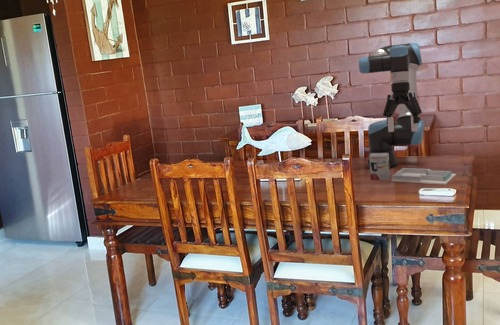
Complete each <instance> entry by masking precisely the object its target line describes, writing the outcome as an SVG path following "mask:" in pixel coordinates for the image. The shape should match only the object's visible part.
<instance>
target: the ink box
mask: <svg viewBox="0 0 500 325" xmlns="http://www.w3.org/2000/svg"><path fill="white" fill-rule="evenodd" d="M369 154H370V153H369ZM369 154H368V158H369V161H370V169H369V175H370V181H384V180H385V181H387V180H388V181H389V180H390V178H391V173H390V172H391V169H390V168H389V153H371V154H370V155H369Z"/></svg>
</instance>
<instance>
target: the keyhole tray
mask: <svg viewBox="0 0 500 325" xmlns="http://www.w3.org/2000/svg"><path fill="white" fill-rule="evenodd" d="M456 176H457V173H452V170H451V171H450V170H432V169H431V168H415V167H414V168H412V167H402V168H401V169H400V170H398V171H396V172H395V173H393V174H392V175H391V180H390V182H392V183H394V182H395V183H406V184H407V183H411V184H428V185H429V184H430V185H445V186H446V185H447V184H448V183H449V182H451V180H453V178H455V177H456Z"/></svg>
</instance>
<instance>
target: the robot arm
mask: <svg viewBox="0 0 500 325" xmlns="http://www.w3.org/2000/svg"><path fill="white" fill-rule="evenodd" d="M422 61H423V60H422V54H421V49H420V45H419V43H417V42H409V43H400V44H393V45H386V46H383V47H380V48H378V49H376V50H374V51H373V52H372V53H371V54H370V56H363V57H359V59H358V69H359V73H361V74H362V75H363V74H368V75H369V74H373V73H382V72H383V73H384V72H390V82H391V85H390V86H391V93H392V94H387V98H386V103H385V106H384V110H383V113H382V115H383V117H386V119H384V120H383V119H382V120H379V121H375V122H372V123H370V124H369V125H368V133H367V134H368V146H369V154H368V156H369V155H370V154H371V153H389V168H390V170H391V169H396V168H397V167H398V166H399V163H398V162H399V161H398V159H397V156H396V154H395V152H394V147H396V146H415V145H416V146H417V145H420V144H422V143H423V142H422V141H423V140H424V139H423V138H424V128H425V123H424V122H425V121H424V120H422V119H421V117H420V115H421V114H423V112H422V110H421V107H420V104H419V102H418V92H417V91H418V89H417V87H418V86H417V72H418V71H419V69H420V66H422V65H423V62H422ZM398 106H399V111H398V113H399V115H398V117H397V118H396V122H394V116H393V115H394V113H395V111H396V109H397V107H398ZM366 166H367V169H369V170H370V161H369V157H368V159H367V164H366Z"/></svg>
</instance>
